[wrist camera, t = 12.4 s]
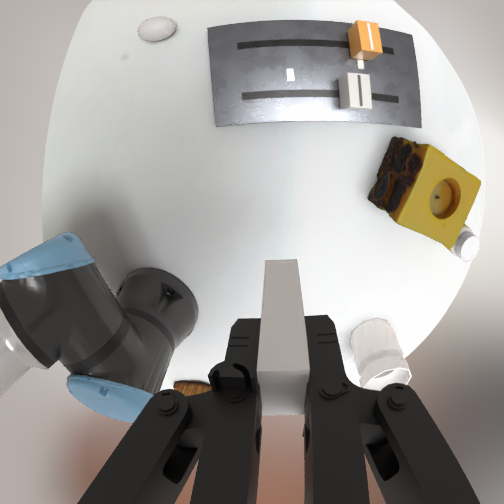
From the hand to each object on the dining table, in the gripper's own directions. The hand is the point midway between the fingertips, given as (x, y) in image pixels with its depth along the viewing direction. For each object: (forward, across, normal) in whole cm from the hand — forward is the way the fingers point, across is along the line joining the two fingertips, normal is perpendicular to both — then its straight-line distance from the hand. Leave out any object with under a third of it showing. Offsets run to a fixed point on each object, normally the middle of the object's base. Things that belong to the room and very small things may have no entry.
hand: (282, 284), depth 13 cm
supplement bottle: (+25, +27, -7) cm, 37 cm away
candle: (+25, +19, 0) cm, 31 cm away
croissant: (+25, -19, -45) cm, 55 cm away
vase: (+25, +17, -29) cm, 42 cm away
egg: (+25, -14, +24) cm, 37 cm away
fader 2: (+22, +9, +12) cm, 27 cm away
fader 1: (+22, +12, +18) cm, 31 cm away
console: (+24, +6, +15) cm, 29 cm away
